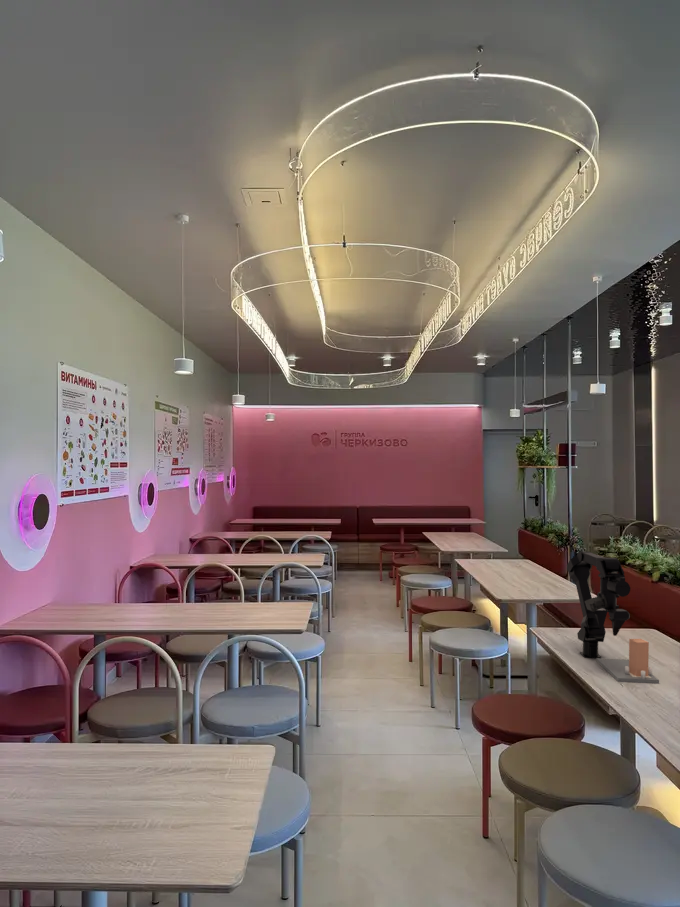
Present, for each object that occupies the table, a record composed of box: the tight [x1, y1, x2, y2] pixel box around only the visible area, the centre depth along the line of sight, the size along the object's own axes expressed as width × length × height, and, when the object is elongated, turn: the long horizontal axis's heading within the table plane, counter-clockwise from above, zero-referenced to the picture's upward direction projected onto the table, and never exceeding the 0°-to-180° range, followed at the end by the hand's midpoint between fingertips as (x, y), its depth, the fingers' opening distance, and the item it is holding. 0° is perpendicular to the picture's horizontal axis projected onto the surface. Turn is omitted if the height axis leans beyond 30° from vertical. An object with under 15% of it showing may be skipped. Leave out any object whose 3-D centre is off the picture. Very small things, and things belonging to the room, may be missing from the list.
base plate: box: [595, 657, 660, 684], centre depth 224 cm, size 22×14×4 cm, turn 176°
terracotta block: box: [628, 638, 650, 676], centre depth 218 cm, size 4×4×12 cm
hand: (607, 632), depth 229 cm, fingers open, 9 cm apart
